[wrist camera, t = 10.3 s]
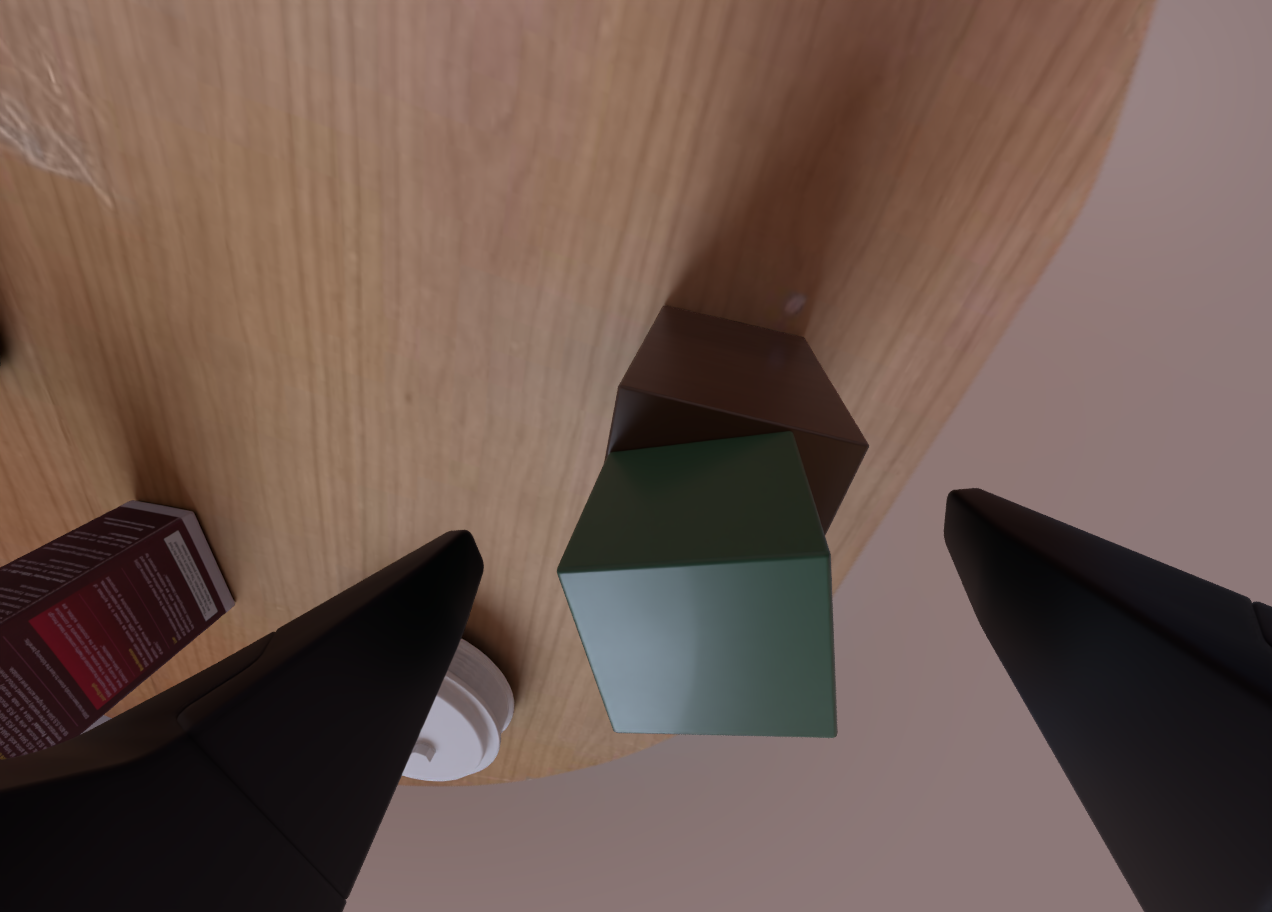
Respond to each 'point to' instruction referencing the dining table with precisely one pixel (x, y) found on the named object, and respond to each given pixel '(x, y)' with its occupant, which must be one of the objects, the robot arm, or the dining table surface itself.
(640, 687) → the block
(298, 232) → the dining table surface
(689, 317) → the stand
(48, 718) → the supplement box
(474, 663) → the grey round disc
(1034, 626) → the robot arm
